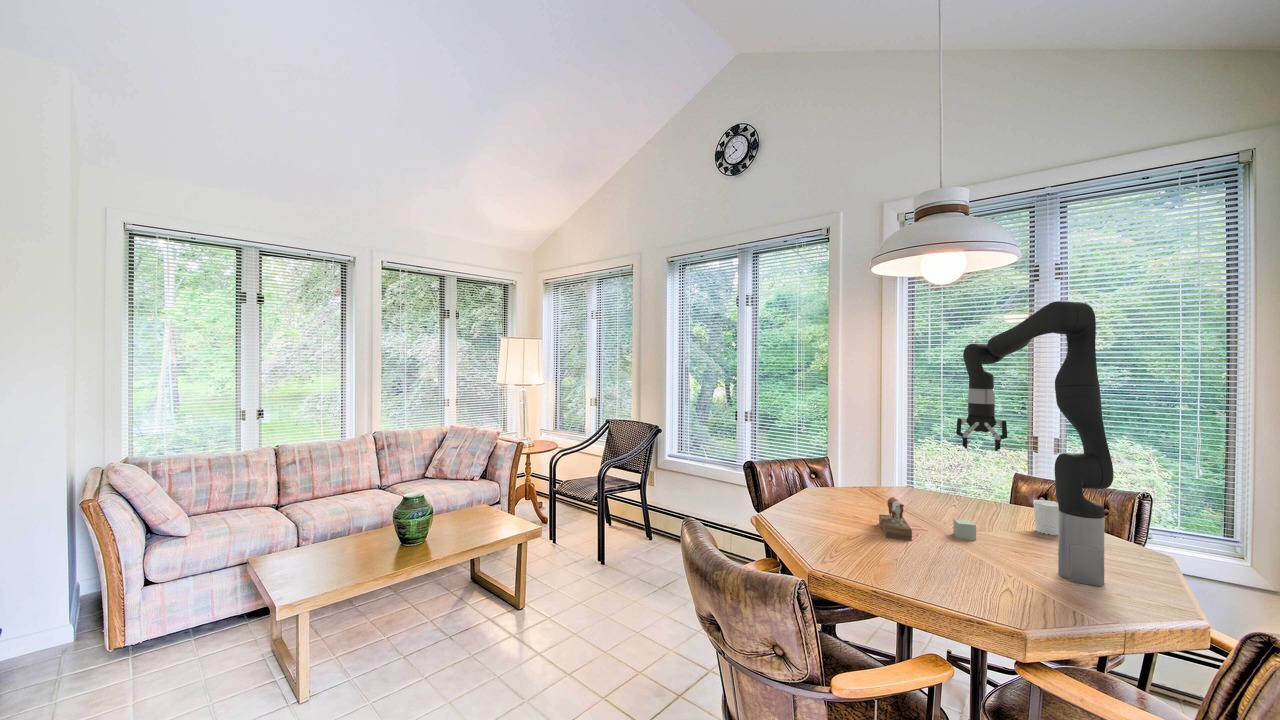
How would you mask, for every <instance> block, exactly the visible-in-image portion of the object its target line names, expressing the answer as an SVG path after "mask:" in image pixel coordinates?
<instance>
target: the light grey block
mask: <svg viewBox="0 0 1280 720" xmlns="http://www.w3.org/2000/svg"><path fill="white" fill-rule="evenodd" d="M1058 513H1059V507H1058V501H1057V502H1056V501H1053V500H1046V499H1035V500H1033V514H1034V522H1035V525H1034V526H1035V530H1036V532H1038V533H1040V532H1041V534H1043V533H1045V534H1044V535H1048V534H1050V535H1049V536H1058Z"/></svg>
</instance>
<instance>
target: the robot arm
mask: <svg viewBox="0 0 1280 720" xmlns="http://www.w3.org/2000/svg"><path fill="white" fill-rule="evenodd" d="M1096 319H1097V318H1096V314H1095V311H1094V309H1093V307H1092V306H1091V305H1090V304H1088V303H1086V302H1082V301H1066V300H1057V301H1052V302H1049V303H1048V304H1046V305H1044V306H1043V307H1042V308H1040V309H1039V310H1037V311H1036V312H1035V313H1033V314H1032V315H1031V316H1028V317H1027V318H1026V319H1024V320H1023V321H1021V322H1020V323H1019V324H1017V325H1015V326H1013V327H1011V328H1009V329H1008V330H1007V329H1006V330H1005V331H1003V332H1000V333H998V334H996V335H994V336H993V337H991V338H990V339H988V340H987V341H988V342H987V343H969V344H968V345H966V346H965V347H964V350H963V351H962V352H963V354H962V355H963V356H962V357H963V362H964V365H965V368H966V372H967V374H968V379H969V380H968V392H967V394H968V395H967V417H966V418H962V417H957V418H956V419H957V420H956V429H955V433H956V435H957V436H959V437H961V438H962V439H961V440H962V441H961V442H962V443H961V444H962V447H963V448H964V449H966V450H968V436H969V435H970V434H971V433H973V432H977V433H979V432H982V433H989V432H990V434H992V436H993V437H994V438H995V439H994V452H998V451H1000V450H1001V441H1002V440H1006V439H1007V438H1008V428H1007V427H1008V426H1007V425H1008V424H1007V421H1006V420H1004V419H1002V420H996V418H995V417H996V415H995V414H996V410H995V409H996V405H995V403H996V399H995V397H996V396H995V379H994V378H995V376H994V373H993V372H991V371H988V370H985V369H984V366H983V365H992V364H996V363H998V362H1000V361H1001V360H1003V358H1005V357H1007V356H1009V355H1011V354H1013V353H1016V352H1017V351H1020V350H1022V349H1024V348H1026V346H1028V345H1029V343H1030V342H1031V341H1032V339H1034V338H1036V337H1041V336H1043V335H1047V334H1056V335H1065V336H1066V347H1067V350H1066V357H1065V359H1064V361H1063V362H1062V365H1061V366H1060V368H1059V369H1058V372H1057V374H1056V377H1055V378H1054V391H1055V392H1054V393H1055V402H1056V405H1057V408H1058V410H1060V412H1061V413H1062V415H1063V416H1064V417H1065V418H1066V419H1067V421H1068V422H1069V423H1070V424H1071V425H1072V426H1073V428H1074V429H1075V430H1076V432H1077V434H1078V436H1079V438H1080V440H1081V441H1080V442H1081V444H1082V448H1083V452H1082V453H1081V452H1080V453H1079V452H1064V453H1060V454H1059V455H1058V456H1056V459H1055V462H1054V481H1055V496H1056V500H1057V502H1058V507H1059V513H1058V535H1057V536H1058V537H1057V538H1058V539H1057V540H1058V541H1057V543H1058V549H1057V550H1058V551H1057V552H1058V553H1057V555H1058V556H1057V557H1058V561H1057V562H1058V564H1057V565H1058V569H1057V570H1058V571H1057V572H1058V575H1059V576H1061V577H1063V578H1065V579H1067V580H1069V582H1072V583H1073V582H1074V583H1078V584H1085V585H1089V586H1090V585H1091V586H1096V587H1102V586H1103V585H1104V584H1105V511H1106V510H1105V508H1104V506H1103V505H1102V504H1101V503H1098V502H1096V501H1092V500H1090V499H1087V498H1086V497H1085V496H1084V493H1083V489H1087V490H1088V489H1089V490H1090V489H1092V490H1093V489H1094V490H1106V489H1108V488H1110V487H1111V486H1112V483H1113V481H1114V466H1113V461H1112V456H1111V453H1110V449H1109V445H1108V441H1107V436H1106V430H1105V425H1104V418H1103V411H1102V409H1103V408H1102V399H1101V397H1102V396H1101V389H1100V383H1099V375H1098V364H1097V354H1096V351H1097V349H1096V342H1097V341H1096V339H1097V338H1096V336H1097V335H1096V333H1097V330H1096V329H1097V328H1096V327H1097V321H1096ZM965 423H966V424H967V425H968V426H969V427H968V428H966V430H965V431H964V432H962V426H963V425H965ZM996 425H998V427H1000V428H1001V434H1000V435H999V434H998V433H997V431H996V430H995V429H994V427H995V426H996Z"/></svg>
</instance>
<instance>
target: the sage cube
mask: <svg viewBox="0 0 1280 720" xmlns="http://www.w3.org/2000/svg"><path fill="white" fill-rule="evenodd" d="M952 521H953V526H952V527H953V531H952V532H953V535H954V536H955V537H956V538H957V539H958V540H959V539H961V540H971V541H977V524H976V523H974V522H973V521H972V520H969V519H960V518H959V519H955V518H954V519H953V520H952Z"/></svg>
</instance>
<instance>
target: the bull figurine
mask: <svg viewBox="0 0 1280 720" xmlns="http://www.w3.org/2000/svg"><path fill="white" fill-rule="evenodd" d="M904 507H905V505H904V504H902V503H901V502H900V500H898V498H895V497H894V496H892V497H890V498H888V500H887V508H888V515H889V519H890V520H891V519H892V518H893V520H892V523H893V524H895V519H894V518H895V516H896V519H899V518H898V516H900V525H901V526H903V523H902V517H903V514H904ZM891 515H892V517H891Z"/></svg>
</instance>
